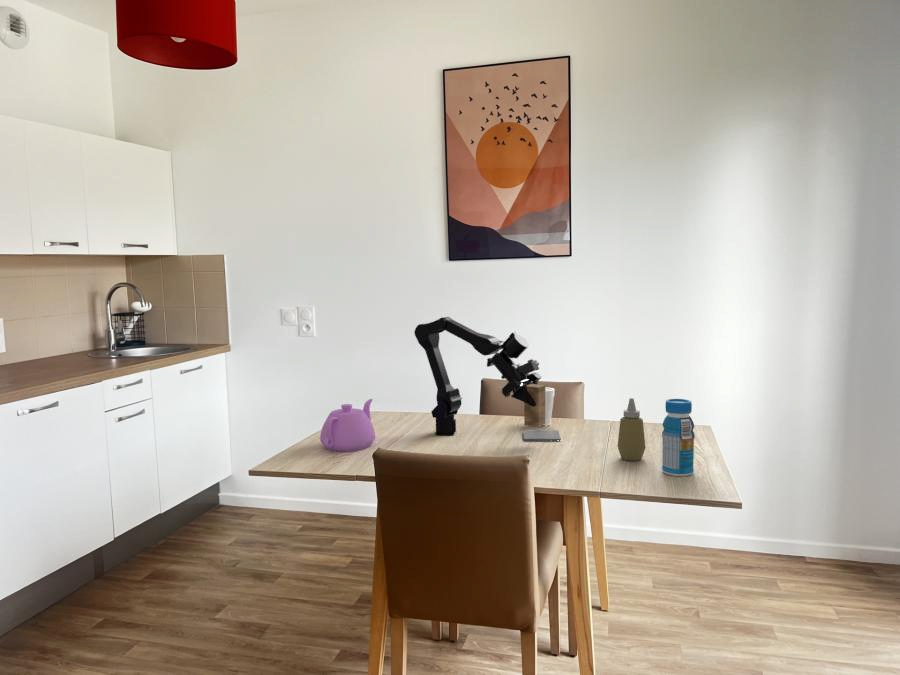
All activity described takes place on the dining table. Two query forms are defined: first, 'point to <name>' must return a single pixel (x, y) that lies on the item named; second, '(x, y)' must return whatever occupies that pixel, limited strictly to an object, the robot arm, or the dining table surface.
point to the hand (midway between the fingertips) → (538, 404)
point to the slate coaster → (541, 435)
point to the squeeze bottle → (631, 434)
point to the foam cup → (548, 404)
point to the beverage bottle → (678, 438)
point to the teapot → (348, 429)
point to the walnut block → (537, 413)
